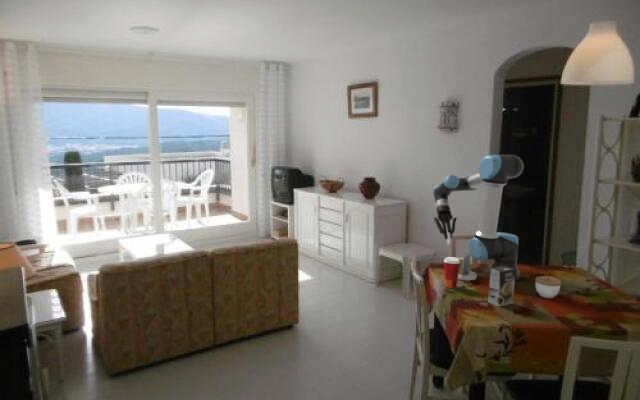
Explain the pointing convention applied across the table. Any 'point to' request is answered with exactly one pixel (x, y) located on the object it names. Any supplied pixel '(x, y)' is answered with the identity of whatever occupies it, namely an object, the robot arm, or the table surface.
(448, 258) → the paper cup
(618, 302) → the table surface
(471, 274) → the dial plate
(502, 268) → the coffee box
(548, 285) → the white bowl
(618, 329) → the table surface
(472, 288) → the table surface
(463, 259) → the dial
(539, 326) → the table surface
